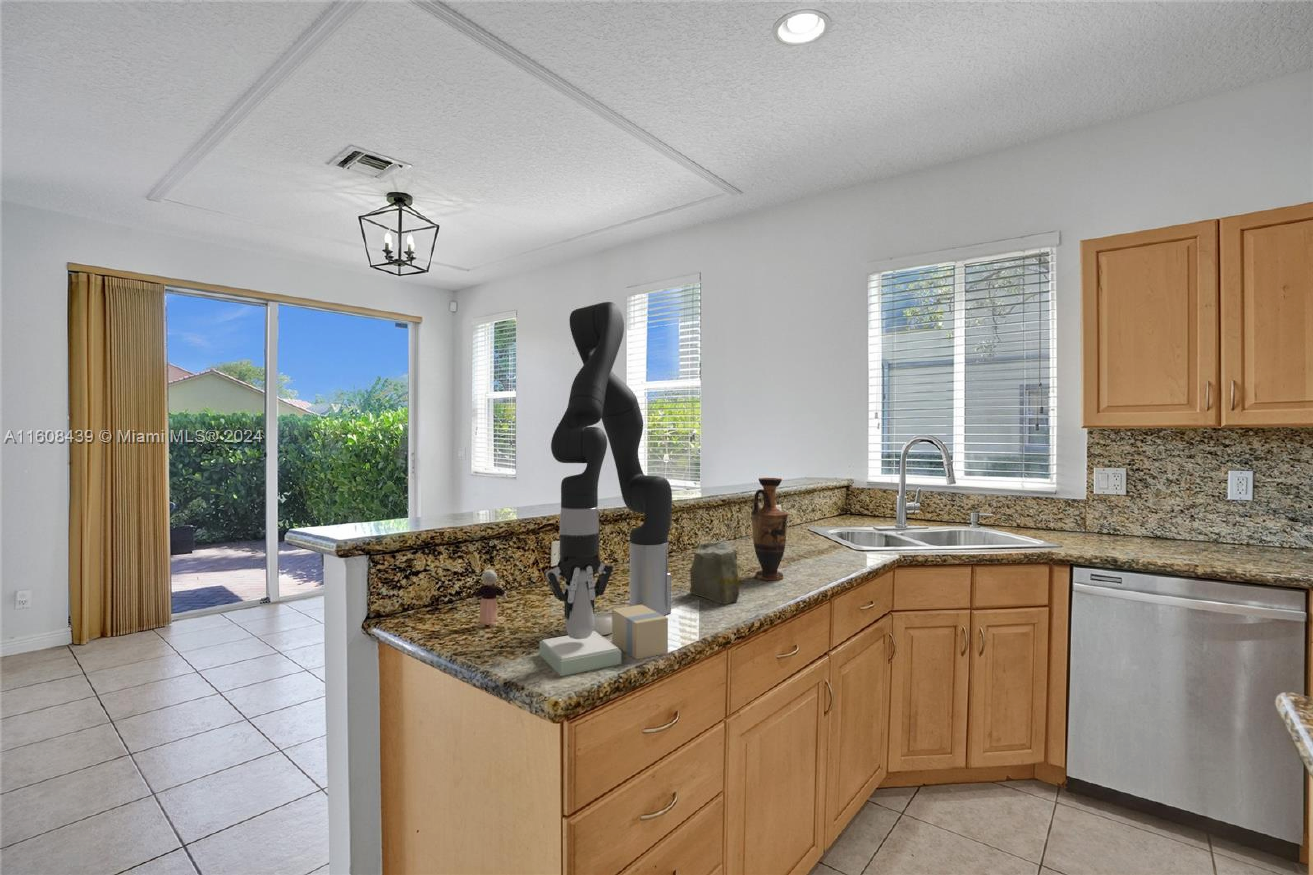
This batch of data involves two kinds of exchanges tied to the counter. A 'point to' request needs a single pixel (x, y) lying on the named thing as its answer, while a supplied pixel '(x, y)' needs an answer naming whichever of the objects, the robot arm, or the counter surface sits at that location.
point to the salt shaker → (581, 611)
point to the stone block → (715, 572)
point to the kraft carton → (640, 631)
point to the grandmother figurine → (488, 599)
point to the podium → (579, 653)
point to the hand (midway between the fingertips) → (579, 619)
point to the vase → (769, 531)
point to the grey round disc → (603, 624)
